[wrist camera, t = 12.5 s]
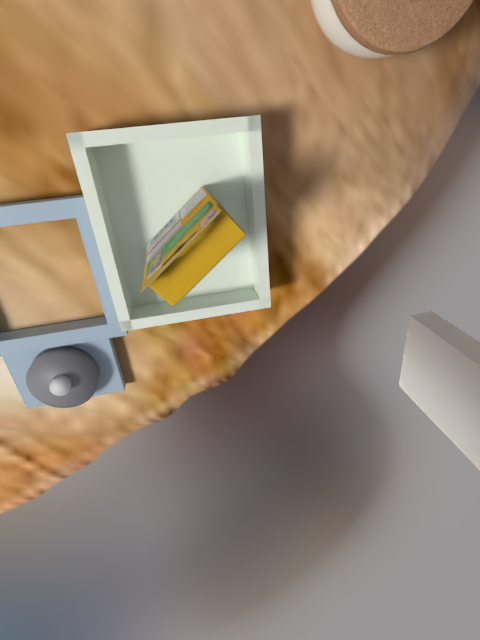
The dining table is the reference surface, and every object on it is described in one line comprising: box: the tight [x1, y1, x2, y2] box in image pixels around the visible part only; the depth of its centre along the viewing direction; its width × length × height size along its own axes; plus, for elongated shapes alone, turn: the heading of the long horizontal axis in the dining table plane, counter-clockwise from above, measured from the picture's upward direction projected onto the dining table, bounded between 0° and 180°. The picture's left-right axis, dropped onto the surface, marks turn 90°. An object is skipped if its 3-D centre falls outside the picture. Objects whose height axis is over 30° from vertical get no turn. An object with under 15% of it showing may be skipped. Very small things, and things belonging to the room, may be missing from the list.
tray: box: [66, 115, 271, 332], centre depth 31 cm, size 16×14×4 cm
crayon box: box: [141, 186, 246, 306], centre depth 27 cm, size 7×3×12 cm, turn 133°
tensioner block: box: [0, 195, 128, 408], centre depth 33 cm, size 20×14×4 cm
